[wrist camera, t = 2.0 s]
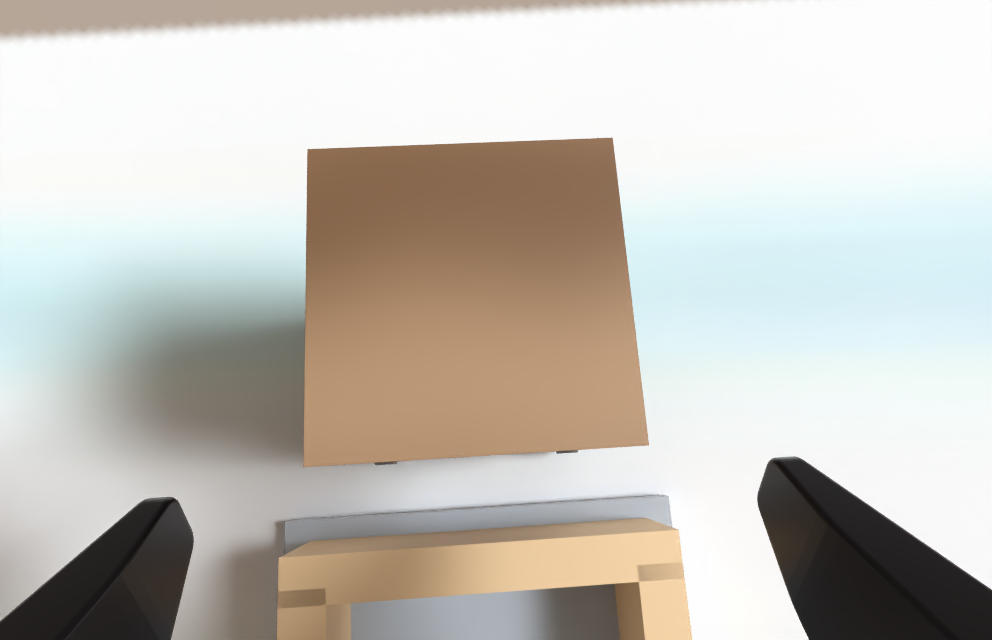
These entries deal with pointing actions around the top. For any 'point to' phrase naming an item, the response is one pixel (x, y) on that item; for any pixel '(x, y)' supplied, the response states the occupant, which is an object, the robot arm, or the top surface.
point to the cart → (467, 303)
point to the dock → (487, 574)
